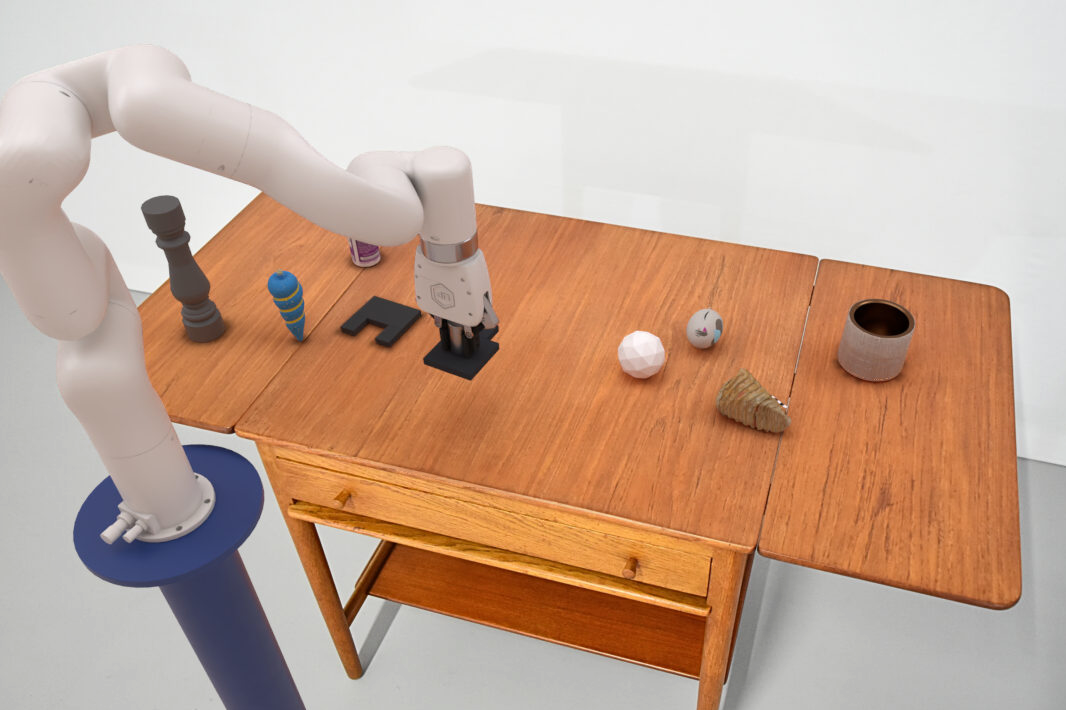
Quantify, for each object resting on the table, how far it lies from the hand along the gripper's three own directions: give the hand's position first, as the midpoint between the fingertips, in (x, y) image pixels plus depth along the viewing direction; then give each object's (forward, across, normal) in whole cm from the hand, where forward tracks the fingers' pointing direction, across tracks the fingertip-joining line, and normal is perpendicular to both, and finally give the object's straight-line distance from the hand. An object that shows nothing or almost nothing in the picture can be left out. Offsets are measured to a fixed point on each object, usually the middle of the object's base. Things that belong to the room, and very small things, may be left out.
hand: (461, 348), depth 130 cm
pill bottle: (+15, -41, +29) cm, 52 cm away
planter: (+14, +53, +42) cm, 69 cm away
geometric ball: (+15, +19, +23) cm, 33 cm away
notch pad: (+15, -27, +13) cm, 33 cm away
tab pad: (+2, 0, +2) cm, 2 cm away
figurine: (+15, +26, +34) cm, 45 cm away
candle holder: (+15, -52, -1) cm, 55 cm away
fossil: (+15, +39, +22) cm, 47 cm away
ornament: (+15, -36, +4) cm, 40 cm away
